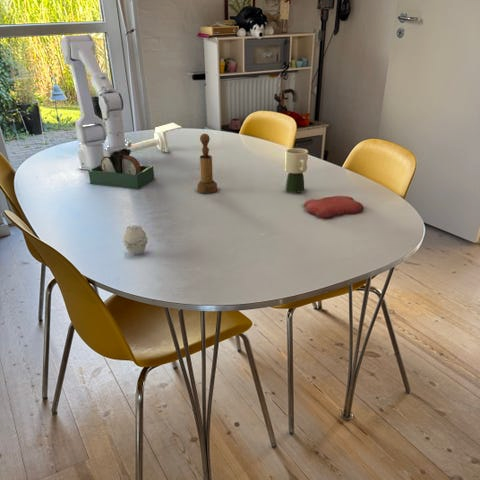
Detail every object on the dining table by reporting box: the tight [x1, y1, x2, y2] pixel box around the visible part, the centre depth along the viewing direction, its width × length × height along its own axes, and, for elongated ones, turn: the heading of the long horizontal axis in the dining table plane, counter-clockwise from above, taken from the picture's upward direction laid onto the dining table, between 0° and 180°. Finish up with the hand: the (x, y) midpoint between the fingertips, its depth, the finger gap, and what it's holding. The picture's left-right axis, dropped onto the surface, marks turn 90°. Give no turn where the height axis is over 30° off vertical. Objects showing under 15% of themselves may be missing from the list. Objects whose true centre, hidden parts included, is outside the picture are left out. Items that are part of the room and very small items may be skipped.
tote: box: [87, 164, 155, 190], centre depth 169 cm, size 19×12×5 cm, turn 70°
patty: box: [303, 195, 364, 219], centre depth 145 cm, size 18×14×2 cm
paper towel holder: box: [127, 122, 183, 153], centre depth 200 cm, size 9×9×32 cm
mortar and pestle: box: [196, 133, 218, 195], centre depth 156 cm, size 7×6×18 cm
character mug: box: [284, 147, 309, 194], centre depth 155 cm, size 11×7×13 cm, turn 21°
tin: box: [101, 155, 141, 175], centre depth 168 cm, size 15×3×8 cm, turn 70°
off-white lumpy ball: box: [122, 224, 149, 255], centre depth 119 cm, size 6×7×7 cm
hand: (121, 172), depth 169 cm, fingers closed on tin, 2 cm apart
